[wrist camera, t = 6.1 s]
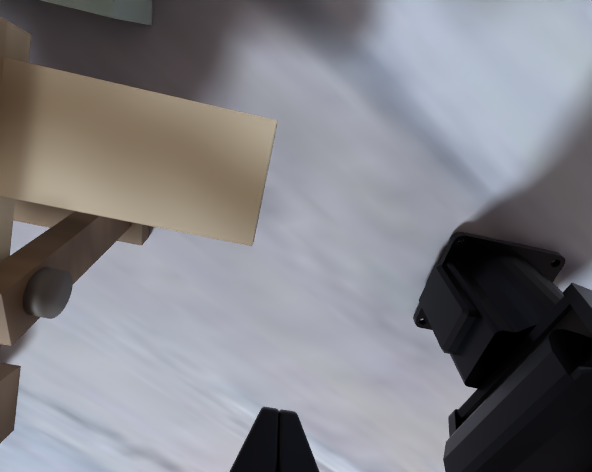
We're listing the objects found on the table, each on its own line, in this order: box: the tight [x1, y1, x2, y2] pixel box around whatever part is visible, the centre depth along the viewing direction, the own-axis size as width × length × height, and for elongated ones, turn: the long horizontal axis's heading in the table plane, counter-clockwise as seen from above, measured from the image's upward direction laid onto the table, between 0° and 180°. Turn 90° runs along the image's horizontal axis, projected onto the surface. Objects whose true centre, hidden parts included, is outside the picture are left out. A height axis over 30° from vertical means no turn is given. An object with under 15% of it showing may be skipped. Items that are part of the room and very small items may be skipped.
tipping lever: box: [0, 17, 277, 443], centre depth 12 cm, size 16×15×5 cm
